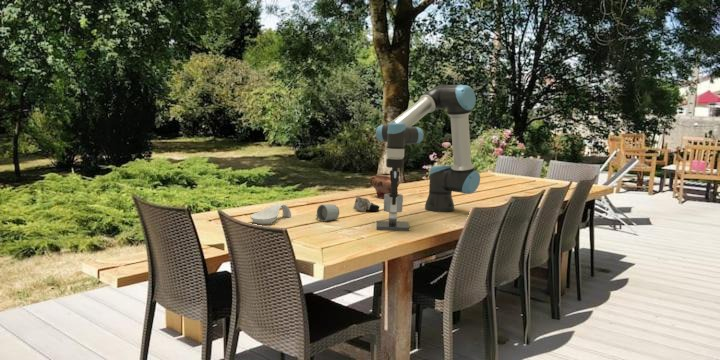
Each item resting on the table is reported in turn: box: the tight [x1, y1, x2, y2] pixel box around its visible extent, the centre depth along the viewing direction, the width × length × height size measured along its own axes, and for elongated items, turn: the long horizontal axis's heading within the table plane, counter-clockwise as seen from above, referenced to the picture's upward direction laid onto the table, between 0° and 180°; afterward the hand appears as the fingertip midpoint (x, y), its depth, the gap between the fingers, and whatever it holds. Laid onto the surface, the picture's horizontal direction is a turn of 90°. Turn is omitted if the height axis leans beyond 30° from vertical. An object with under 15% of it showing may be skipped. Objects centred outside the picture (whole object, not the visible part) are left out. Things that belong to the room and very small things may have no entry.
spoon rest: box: [249, 203, 292, 226], centre depth 254 cm, size 24×12×7 cm, turn 153°
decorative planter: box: [369, 173, 400, 199], centre depth 329 cm, size 20×12×14 cm, turn 58°
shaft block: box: [376, 212, 410, 232], centre depth 248 cm, size 14×12×8 cm
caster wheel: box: [352, 196, 380, 213], centre depth 286 cm, size 7×11×10 cm
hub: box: [383, 193, 404, 214], centre depth 247 cm, size 8×8×7 cm
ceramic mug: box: [316, 203, 340, 222], centre depth 260 cm, size 11×8×8 cm
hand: (393, 210), depth 247 cm, fingers closed on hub, 8 cm apart
